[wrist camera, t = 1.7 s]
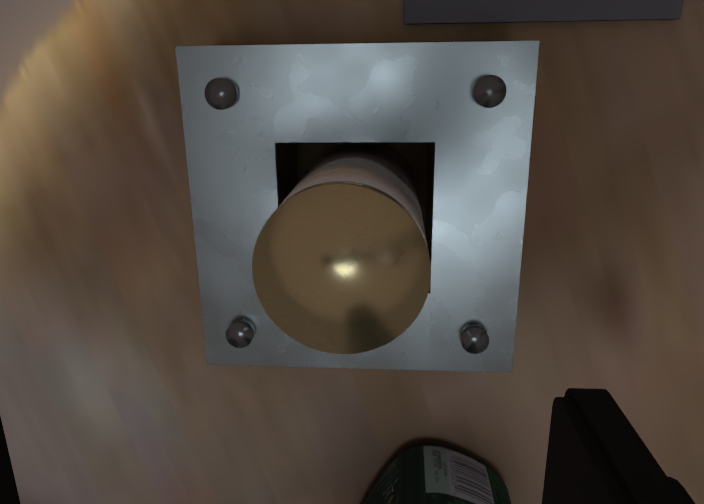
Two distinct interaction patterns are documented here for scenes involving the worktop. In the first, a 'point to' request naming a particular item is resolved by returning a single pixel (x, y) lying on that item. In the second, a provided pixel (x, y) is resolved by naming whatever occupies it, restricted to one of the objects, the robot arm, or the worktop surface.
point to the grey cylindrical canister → (346, 252)
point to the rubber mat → (537, 10)
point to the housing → (364, 126)
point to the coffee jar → (437, 479)
